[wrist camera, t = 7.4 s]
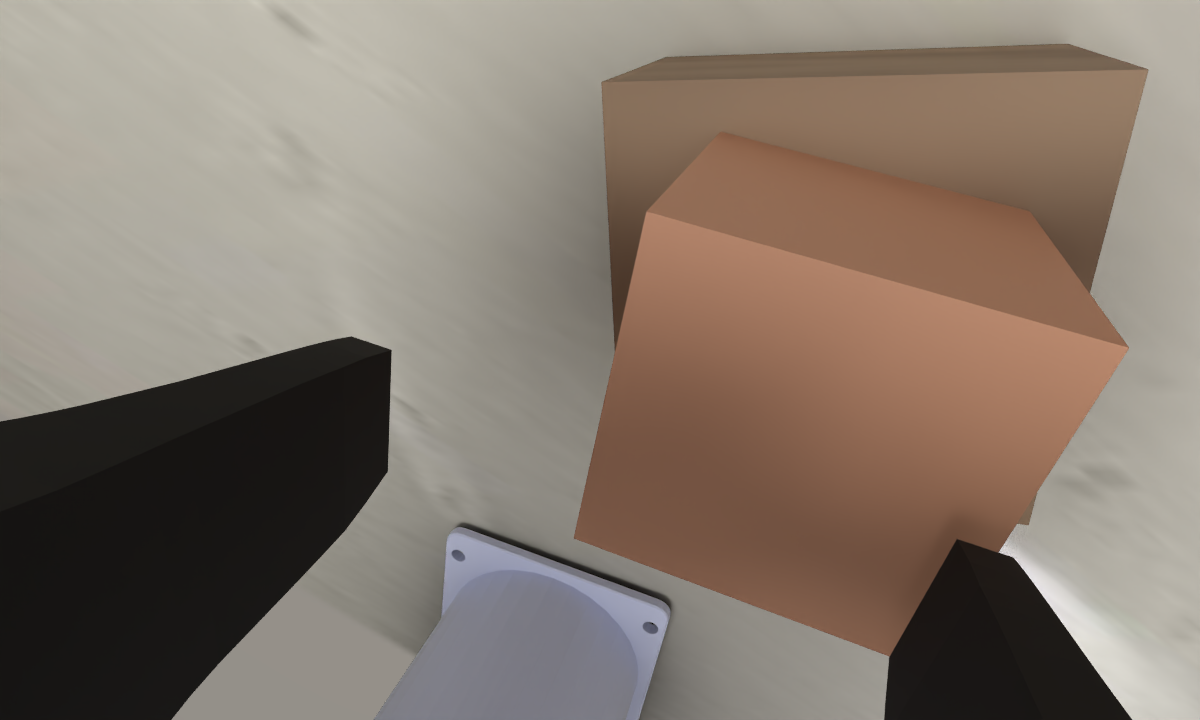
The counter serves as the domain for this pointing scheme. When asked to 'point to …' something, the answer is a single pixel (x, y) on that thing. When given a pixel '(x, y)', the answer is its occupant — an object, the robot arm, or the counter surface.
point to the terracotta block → (834, 385)
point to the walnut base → (887, 130)
